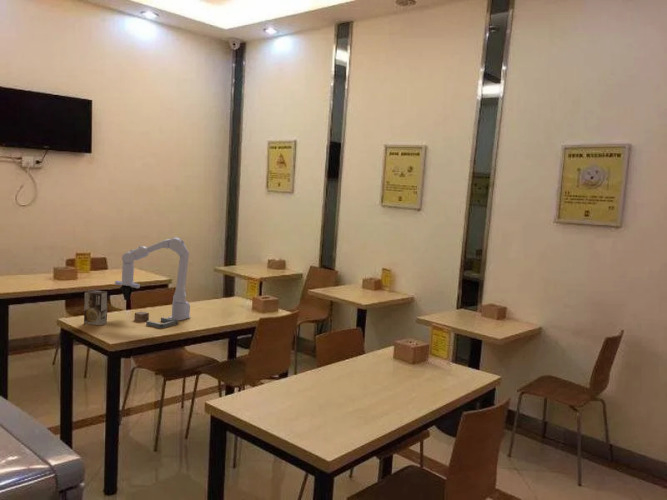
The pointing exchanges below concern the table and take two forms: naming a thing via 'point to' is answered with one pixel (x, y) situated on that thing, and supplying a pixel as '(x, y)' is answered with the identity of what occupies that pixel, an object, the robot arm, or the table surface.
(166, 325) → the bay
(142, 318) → the walnut block
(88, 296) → the coffee box
